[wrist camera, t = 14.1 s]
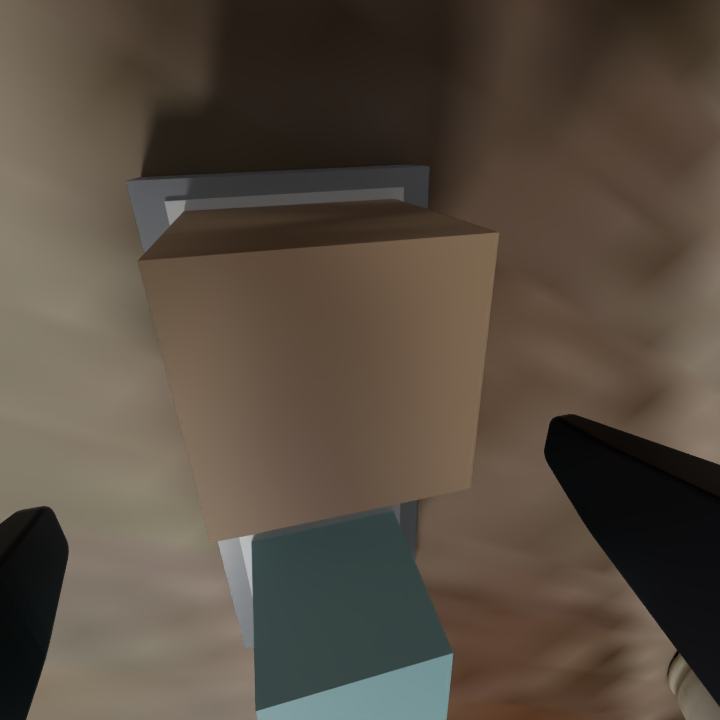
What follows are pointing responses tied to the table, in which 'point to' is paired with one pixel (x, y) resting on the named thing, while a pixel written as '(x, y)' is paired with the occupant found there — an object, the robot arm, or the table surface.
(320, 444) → the walnut block
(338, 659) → the teal block
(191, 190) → the baseplate
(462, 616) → the table surface
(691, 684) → the jug
